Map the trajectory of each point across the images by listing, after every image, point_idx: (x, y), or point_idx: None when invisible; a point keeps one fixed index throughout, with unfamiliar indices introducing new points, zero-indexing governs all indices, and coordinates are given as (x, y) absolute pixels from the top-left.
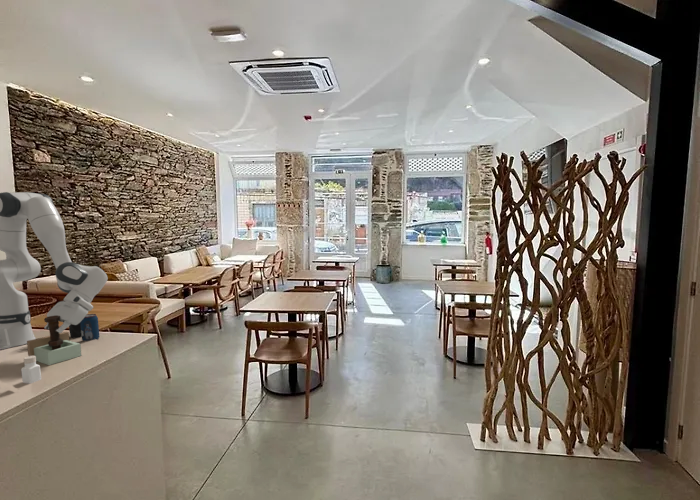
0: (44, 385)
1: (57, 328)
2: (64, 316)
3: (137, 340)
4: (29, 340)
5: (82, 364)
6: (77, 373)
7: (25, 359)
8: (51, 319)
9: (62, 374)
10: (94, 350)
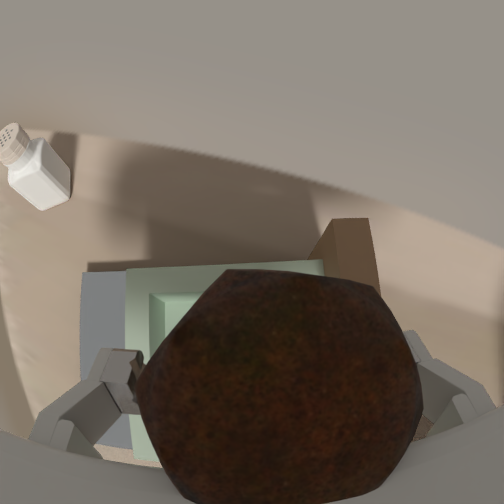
0: (17, 209)
1: (125, 366)
2: (70, 498)
3: None
4: (370, 233)
5: (73, 383)
6: (9, 313)
7: (7, 127)
8: (171, 341)
9: (40, 281)
10: None
